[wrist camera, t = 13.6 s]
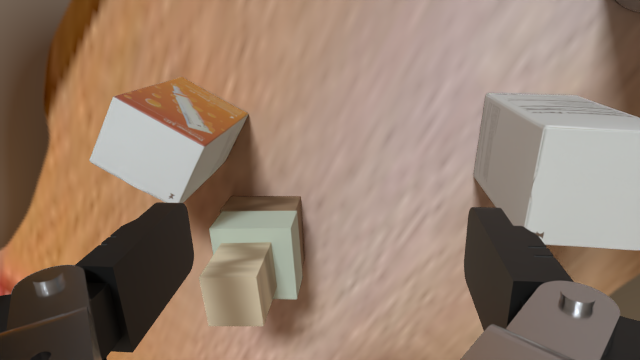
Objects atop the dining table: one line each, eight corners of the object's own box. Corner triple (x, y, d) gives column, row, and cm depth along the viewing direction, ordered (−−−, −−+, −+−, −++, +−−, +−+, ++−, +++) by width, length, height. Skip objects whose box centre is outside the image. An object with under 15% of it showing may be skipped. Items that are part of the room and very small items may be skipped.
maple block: (271, 242, 41) (256, 277, 36) (277, 286, 43) (263, 326, 37) (221, 243, 42) (198, 277, 36) (228, 286, 44) (208, 326, 38)
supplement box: (560, 182, 44) (649, 256, 30) (471, 177, 45) (518, 248, 31) (581, 93, 41) (691, 132, 27) (485, 90, 42) (543, 125, 28)
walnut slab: (300, 195, 48) (295, 210, 44) (304, 258, 51) (299, 277, 47) (231, 195, 49) (220, 210, 45) (238, 257, 52) (229, 275, 48)
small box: (250, 113, 45) (207, 147, 33) (226, 162, 47) (177, 211, 35) (180, 74, 44) (110, 94, 32) (159, 126, 47) (86, 163, 35)
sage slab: (297, 210, 44) (290, 228, 41) (302, 277, 47) (297, 299, 43) (222, 211, 45) (209, 228, 41) (231, 276, 48) (220, 298, 44)
